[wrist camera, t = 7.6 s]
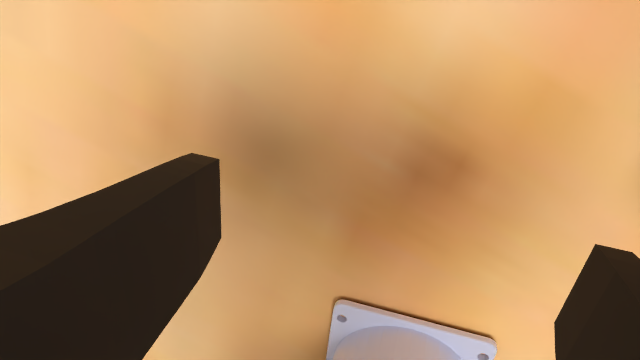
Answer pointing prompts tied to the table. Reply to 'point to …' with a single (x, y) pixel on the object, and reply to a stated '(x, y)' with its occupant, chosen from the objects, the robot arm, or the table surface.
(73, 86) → the table surface
